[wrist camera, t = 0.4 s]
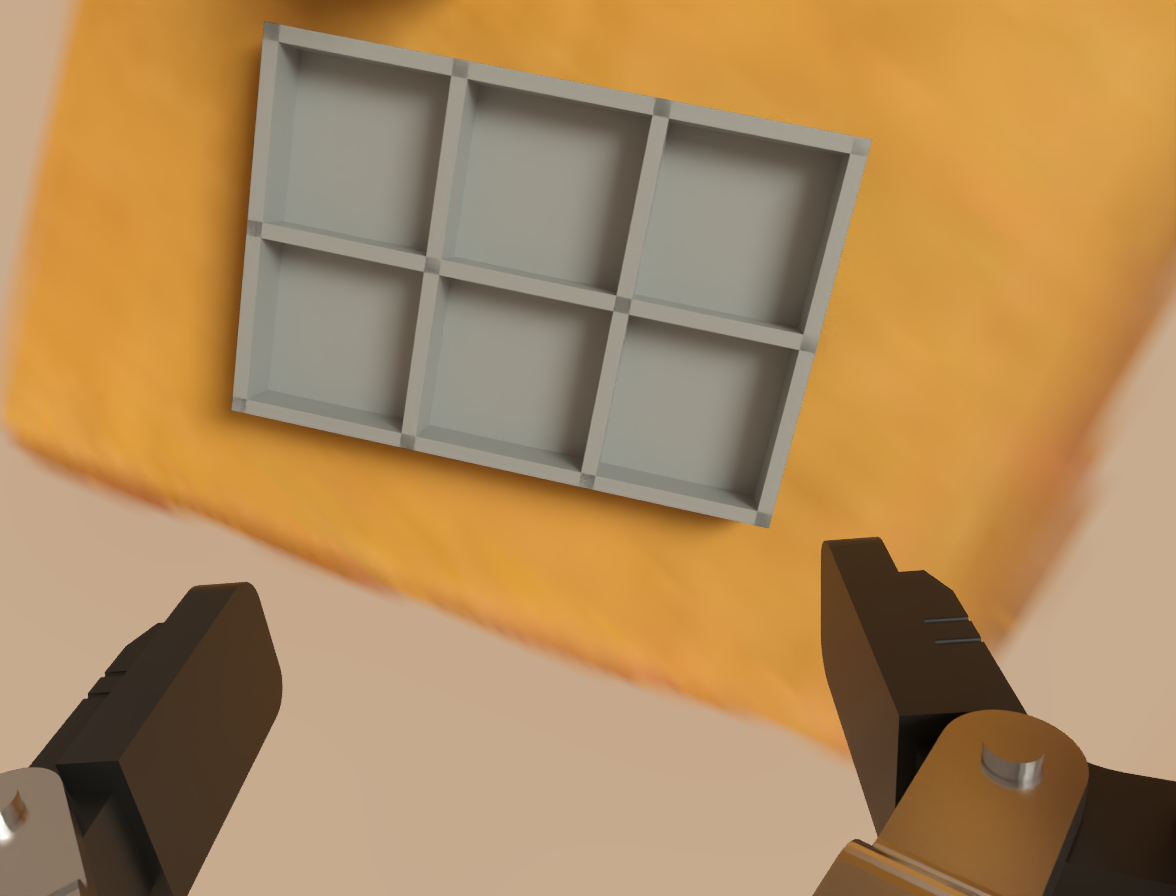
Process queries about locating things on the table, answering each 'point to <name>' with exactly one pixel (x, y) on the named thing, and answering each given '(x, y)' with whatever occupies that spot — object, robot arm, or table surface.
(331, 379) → the grey compartment tray
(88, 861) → the robot arm
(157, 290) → the table surface
